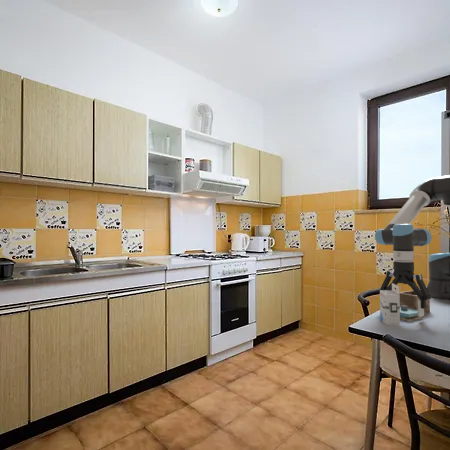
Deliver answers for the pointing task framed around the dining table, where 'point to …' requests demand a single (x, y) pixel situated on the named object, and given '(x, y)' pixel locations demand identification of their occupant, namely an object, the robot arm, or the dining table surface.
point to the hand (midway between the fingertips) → (404, 312)
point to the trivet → (411, 318)
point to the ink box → (390, 306)
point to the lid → (407, 312)
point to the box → (412, 300)
